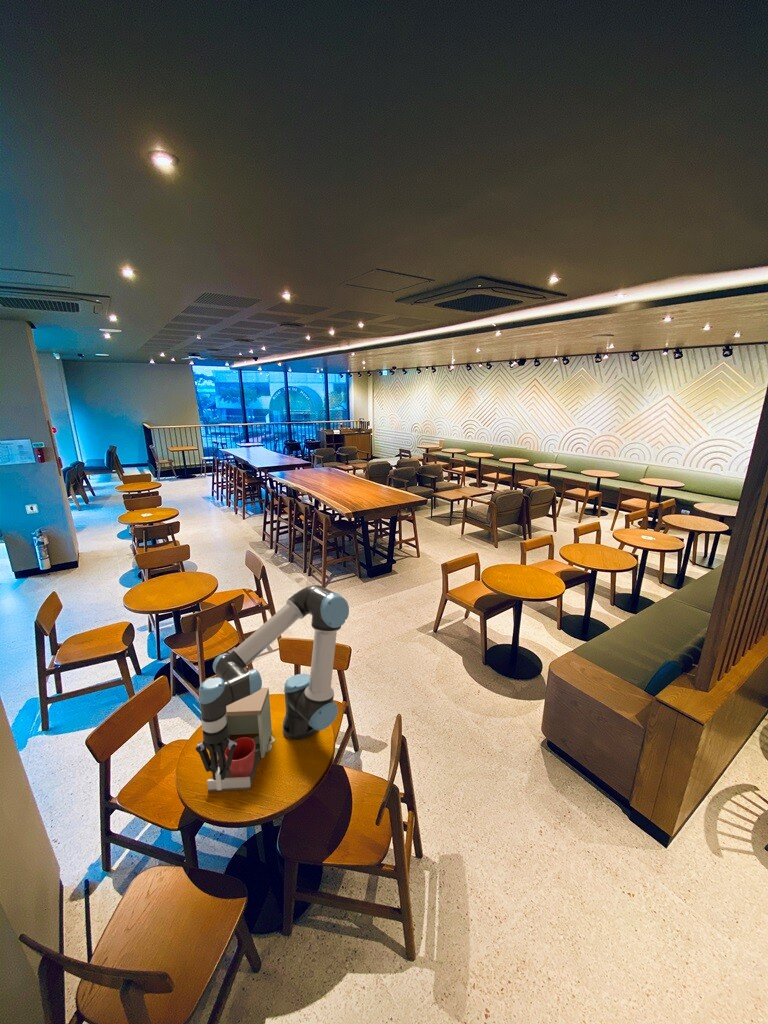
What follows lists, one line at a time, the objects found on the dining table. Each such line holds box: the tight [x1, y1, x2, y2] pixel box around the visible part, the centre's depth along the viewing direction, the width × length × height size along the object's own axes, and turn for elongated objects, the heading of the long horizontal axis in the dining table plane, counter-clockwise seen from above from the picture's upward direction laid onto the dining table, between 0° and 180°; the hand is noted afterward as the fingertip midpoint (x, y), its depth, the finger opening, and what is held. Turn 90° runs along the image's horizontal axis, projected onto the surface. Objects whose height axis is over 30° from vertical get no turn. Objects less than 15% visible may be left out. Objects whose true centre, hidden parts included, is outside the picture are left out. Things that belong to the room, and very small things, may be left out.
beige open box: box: [217, 687, 273, 761], centre depth 158 cm, size 18×14×21 cm
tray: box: [206, 750, 261, 792], centre depth 146 cm, size 15×14×4 cm
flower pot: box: [225, 736, 256, 778], centre depth 146 cm, size 11×11×10 cm
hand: (220, 786), depth 132 cm, fingers closed
